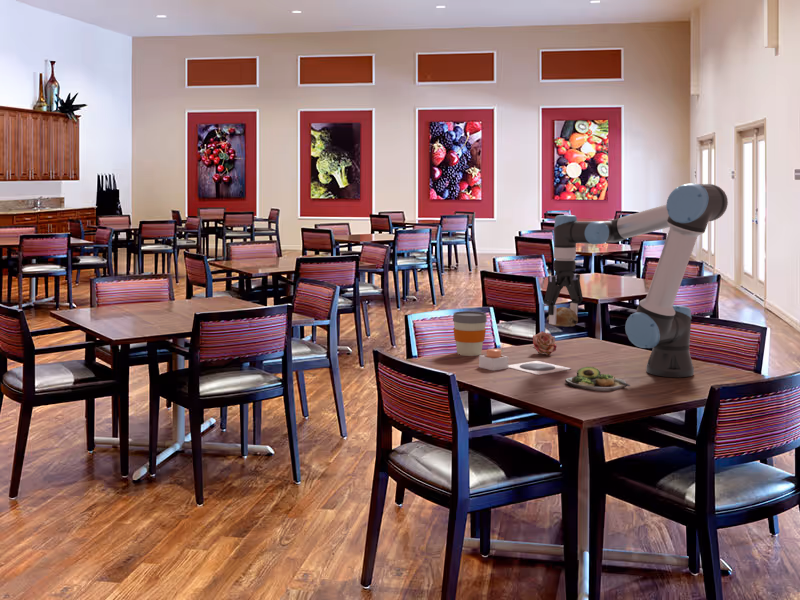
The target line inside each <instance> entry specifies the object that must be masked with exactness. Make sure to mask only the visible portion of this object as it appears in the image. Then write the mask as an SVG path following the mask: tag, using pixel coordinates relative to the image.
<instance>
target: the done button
mask: <svg viewBox="0 0 800 600" xmlns="http://www.w3.org/2000/svg"><path fill="white" fill-rule="evenodd" d="M485 353H486V354H485V355H486V357H490V358H499V357H501V355H502V350H501V349H500V348H499V349H497V348H488V349H486V352H485Z"/></svg>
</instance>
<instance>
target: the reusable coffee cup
mask: <svg viewBox="0 0 800 600" xmlns="http://www.w3.org/2000/svg"><path fill="white" fill-rule="evenodd" d="M487 321H488V318H487V313H486V312H481V311H472V310H471V311H470V310H469V311H467V310H465V311H455V312H453V317H452V322H453V336H454V337H453V339H454V341H455V346H456V347H455V348H456V354H457V355H459V354H460V356H466V357H473V356H475V357H477V356H480V355H482V351H483V345H484V341H485V338H486V331H487V328H486V325H487Z"/></svg>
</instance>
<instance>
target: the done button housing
mask: <svg viewBox="0 0 800 600" xmlns="http://www.w3.org/2000/svg"><path fill="white" fill-rule="evenodd" d="M508 365H509V356H506V355H503V354H501V357H499V358H490V357H486V354H481V355H478V367H479V368H480V369H485V370H488V371H499V370H505V369H509V368H508Z"/></svg>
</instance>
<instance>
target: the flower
mask: <svg viewBox="0 0 800 600" xmlns="http://www.w3.org/2000/svg"><path fill="white" fill-rule="evenodd" d="M555 342H556V337H555V336H553V335H552V333H549V332H545V331H540V332H538V333H537V334H533V336H532V343H533V346H534V347H533V346H529V347H530V348H533V349H534V350H535V351H537V353H538V354H537V355H543V354H544V355H545V354H547V355H548V356H551V354H552V353H553V352H556V350H557V344H556V343H555Z"/></svg>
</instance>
